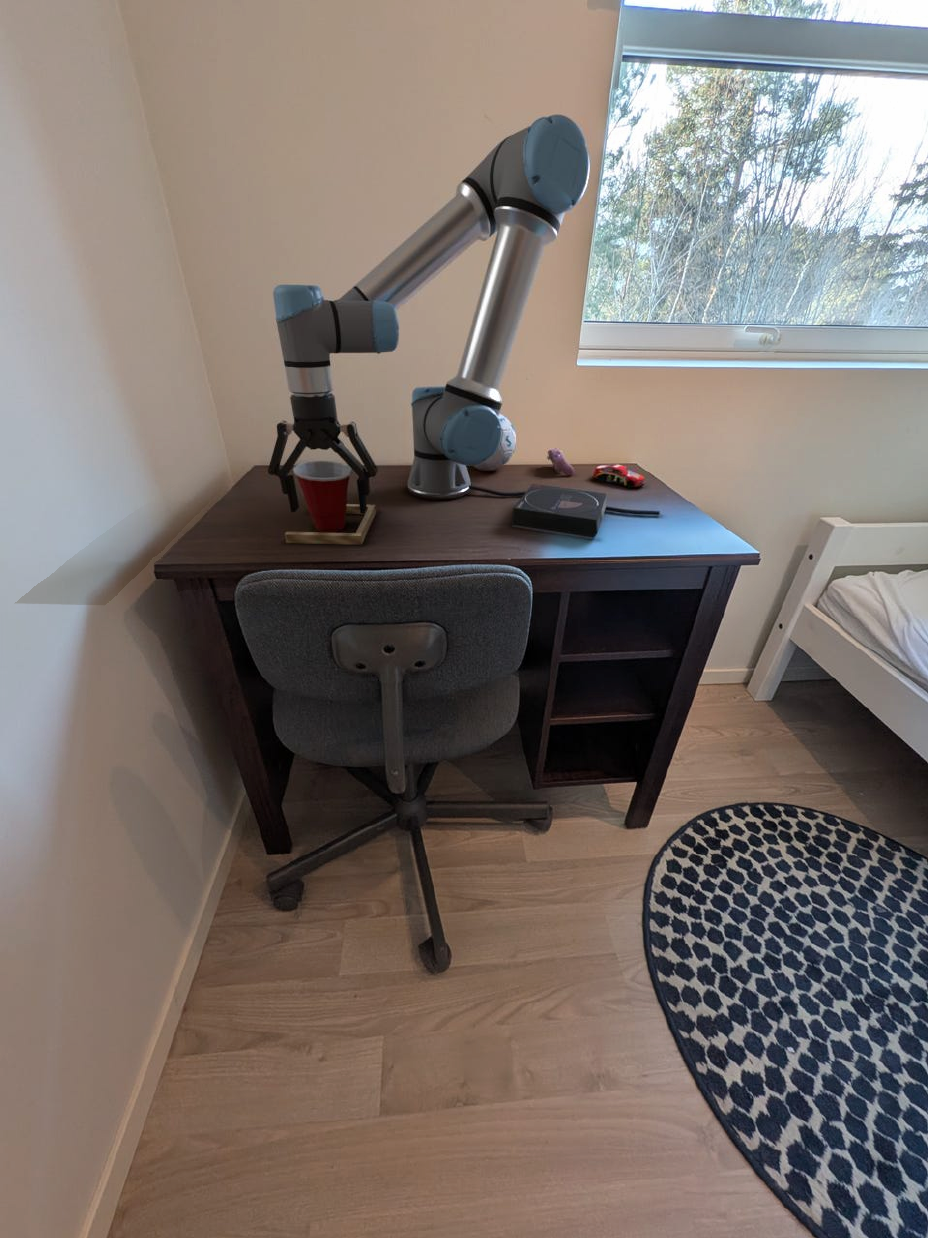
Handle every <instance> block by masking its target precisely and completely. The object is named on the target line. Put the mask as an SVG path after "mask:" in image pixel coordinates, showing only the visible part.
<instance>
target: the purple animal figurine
mask: <svg viewBox="0 0 928 1238" xmlns="http://www.w3.org/2000/svg"><path fill="white" fill-rule="evenodd" d="M547 454H548V455H546V459H547V460H548V461H551V463H552V466H553V468H554V470H555V471H556V472H557V473H558V474H559V473H563V474H564V475H566V476H573V475H574V474H575V469H574V467H573V466H572V465H571V464H569V462H568V461H567V459H566V458H565V456H564V454H563V451H562V450H561V449H560V448H556V447H555V448H551V449H549V450H547Z"/></svg>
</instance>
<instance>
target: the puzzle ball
mask: <svg viewBox="0 0 928 1238" xmlns="http://www.w3.org/2000/svg"><path fill="white" fill-rule="evenodd" d="M498 417H499V420H500V424H501V426H502V436H501V441H500V443H499V446H498V448H497V449H496V451H495V452H494V454H493V455H492V456H491V457H490V458H489V459H487V460H485V461H484V462H482V463H480V464H477V465H472V467H474V468H475V469H477V470H478V471H482V472H492V471H496V470H498V469H500V468H502V467H503V466H505V465H506V464H507V463H508V462H509V461H510V460H511V458H512V457H513V455H514V453H515V449H516V443H517V434H516V431H515V427H514V425H513V423H511V421H510V420H509V419H508V418H507V417H506V416H505V415H503V414H502V413H500V412H499V415H498Z"/></svg>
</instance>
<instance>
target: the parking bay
mask: <svg viewBox="0 0 928 1238" xmlns="http://www.w3.org/2000/svg"><path fill="white" fill-rule="evenodd" d="M366 506H367V509H366V511H365V513H360V505H359V503H358V504H355V503H354V504H353V503H352V504H351V503H347V507H346V515H364V516H363V518H362V520H361V522H360V523H359V526H358V528H357V529H356V531H355V532H320V531H318V532H316V531H313V532H312V531H310V532H309V531H286V532H285V533H284V538H285V542H286V544H308V545H309V544H310V545H312V544H313V545H315V544H316V545H317V544H318V545H353V546H354V545H356V546H357V545H361V546H362V545H363V542H364V540H365V538H366V536H367V534H368V531H369V529H370V527H371V525H372V522H373V521H374V518H375V516H376V514H377V505H376V504H366ZM308 513H309V514H310V512H309V511H308Z"/></svg>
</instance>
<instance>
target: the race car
mask: <svg viewBox="0 0 928 1238" xmlns="http://www.w3.org/2000/svg"><path fill="white" fill-rule="evenodd" d="M593 477H594V478H595V479H597V480H599V482H601V483H602V482H609V483H613V484H618V485H621V486H627V488H629V489H632V488H634V487H635V488H638V487H642V486H644V485H645V483H646V480H645V477H644V476H643V475H641V474H639V473H637V472H634V471H632V469H631V468H628V467H627V466H624V465H621V464H614V463H610V464H601V465H598V466H597V467H596V468H595V469H594V471H593Z"/></svg>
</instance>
